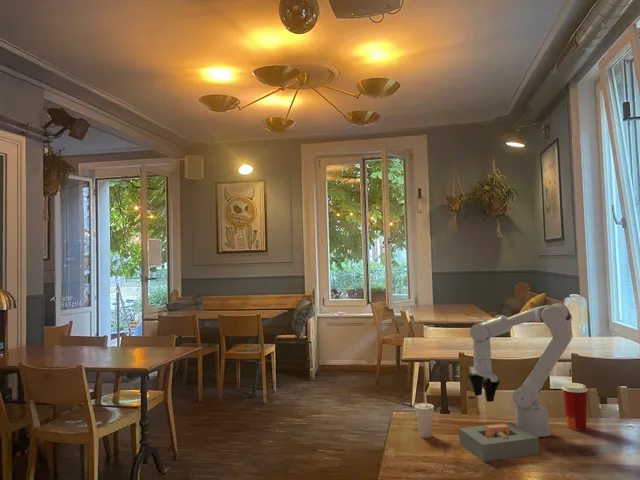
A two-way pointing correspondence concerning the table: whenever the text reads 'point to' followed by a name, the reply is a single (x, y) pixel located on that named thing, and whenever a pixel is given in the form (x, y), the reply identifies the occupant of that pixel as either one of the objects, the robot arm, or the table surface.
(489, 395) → the robot arm
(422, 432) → the smoothie
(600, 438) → the table surface
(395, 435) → the table surface
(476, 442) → the grey panel with window
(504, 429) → the orange arch block
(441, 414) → the table surface
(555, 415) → the table surface
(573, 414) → the paper cup
